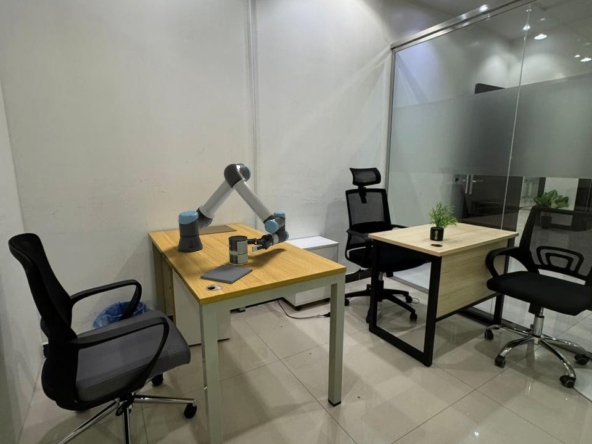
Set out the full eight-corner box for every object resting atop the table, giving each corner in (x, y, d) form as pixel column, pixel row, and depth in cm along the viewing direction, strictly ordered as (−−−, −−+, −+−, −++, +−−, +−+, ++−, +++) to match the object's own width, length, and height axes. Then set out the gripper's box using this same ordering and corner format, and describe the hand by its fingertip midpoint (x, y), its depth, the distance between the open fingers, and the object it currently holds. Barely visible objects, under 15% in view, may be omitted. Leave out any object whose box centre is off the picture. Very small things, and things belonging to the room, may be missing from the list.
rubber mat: (200, 277, 149) (200, 275, 148) (223, 266, 165) (222, 264, 165) (232, 283, 142) (232, 281, 142) (252, 270, 158) (252, 269, 158)
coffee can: (228, 265, 166) (227, 240, 163) (230, 259, 176) (229, 235, 173) (247, 265, 167) (246, 239, 164) (248, 259, 177) (248, 235, 174)
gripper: (285, 249, 182) (260, 258, 165) (254, 242, 197) (228, 250, 180) (285, 236, 181) (259, 244, 164) (254, 231, 195) (228, 237, 179)
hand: (243, 247), depth 172 cm, fingers open, 13 cm apart
